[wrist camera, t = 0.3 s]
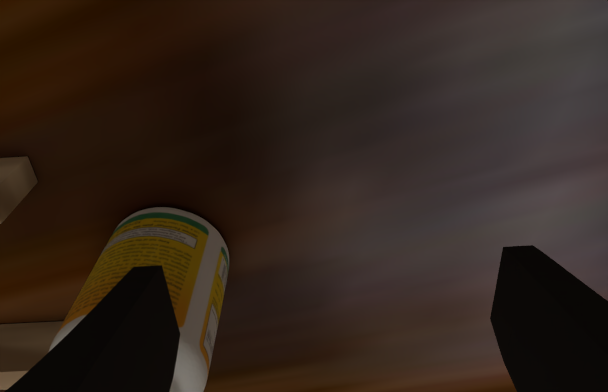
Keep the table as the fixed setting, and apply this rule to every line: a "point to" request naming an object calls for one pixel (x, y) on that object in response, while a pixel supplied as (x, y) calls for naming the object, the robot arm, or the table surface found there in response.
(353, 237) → the table surface
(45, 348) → the beech corral
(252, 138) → the table surface
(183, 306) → the supplement bottle
